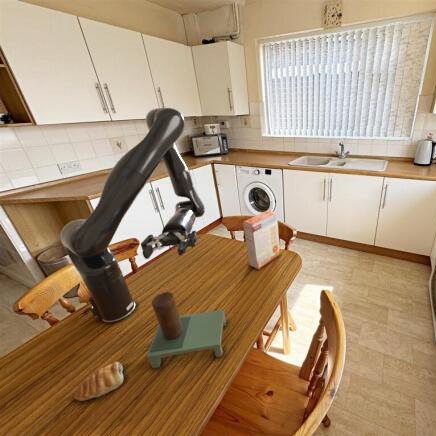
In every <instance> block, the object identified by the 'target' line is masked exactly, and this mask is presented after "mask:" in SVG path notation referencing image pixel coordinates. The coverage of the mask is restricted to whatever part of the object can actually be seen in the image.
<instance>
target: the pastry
mask: <svg viewBox="0 0 436 436" xmlns="http://www.w3.org/2000/svg"><path fill="white" fill-rule="evenodd" d="M123 370H124V367H123V365H122V364H121V363H120V362H119V361H114V362H113V363H110V364H108V365H105V366H104V367H101V368H99V369H98V370H97V371H96V372H94V373H93V374H92V375H91V376H90V377H87V378H86V379H85V380H84V381H82V383H80V385H78V386H77V388H76V390H75V394H74V397H73V398H74V399H75V400H77V401H80V402H83V401H87V400H91V399H94V398H100V397H101V396H104V395H106V394H108V393H110V392H111V391H113V390H116V389H118V388H119V387H120V386H121V385H122V384H123V383H124V377H125V376H124V374H123Z"/></svg>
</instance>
